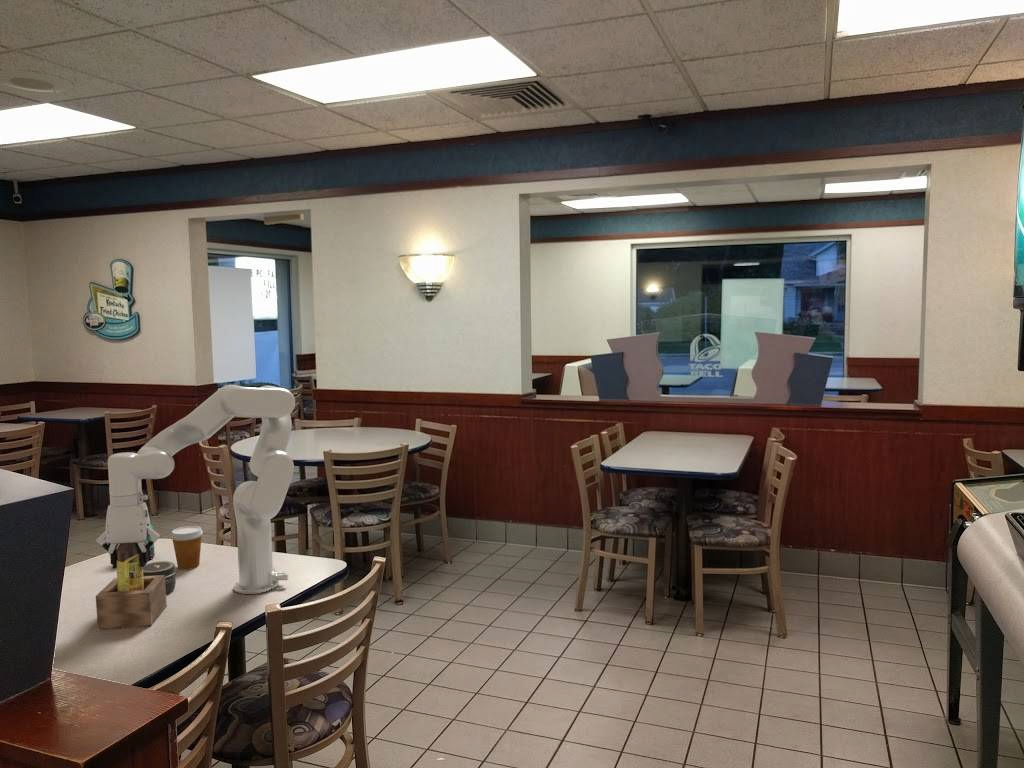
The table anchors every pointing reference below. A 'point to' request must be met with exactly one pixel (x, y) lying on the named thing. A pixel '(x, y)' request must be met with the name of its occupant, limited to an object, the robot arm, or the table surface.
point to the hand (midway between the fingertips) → (129, 565)
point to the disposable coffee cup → (187, 546)
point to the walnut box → (131, 604)
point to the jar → (162, 572)
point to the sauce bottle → (129, 568)
